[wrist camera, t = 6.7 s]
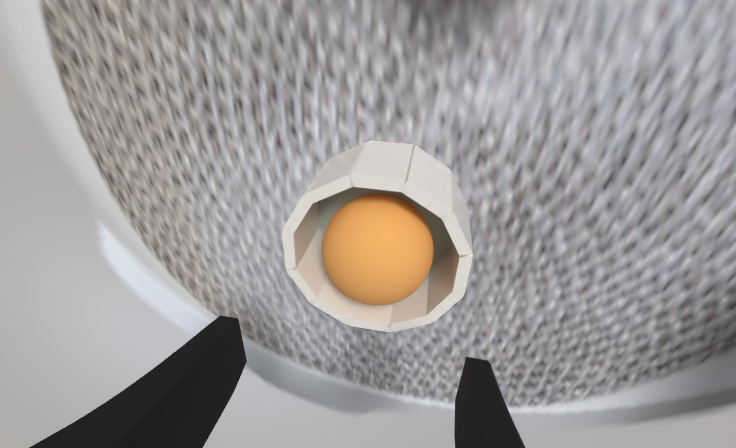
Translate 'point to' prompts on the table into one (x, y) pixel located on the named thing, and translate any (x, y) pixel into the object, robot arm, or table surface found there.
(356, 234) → the ball
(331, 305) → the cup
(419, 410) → the table surface
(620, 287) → the table surface
